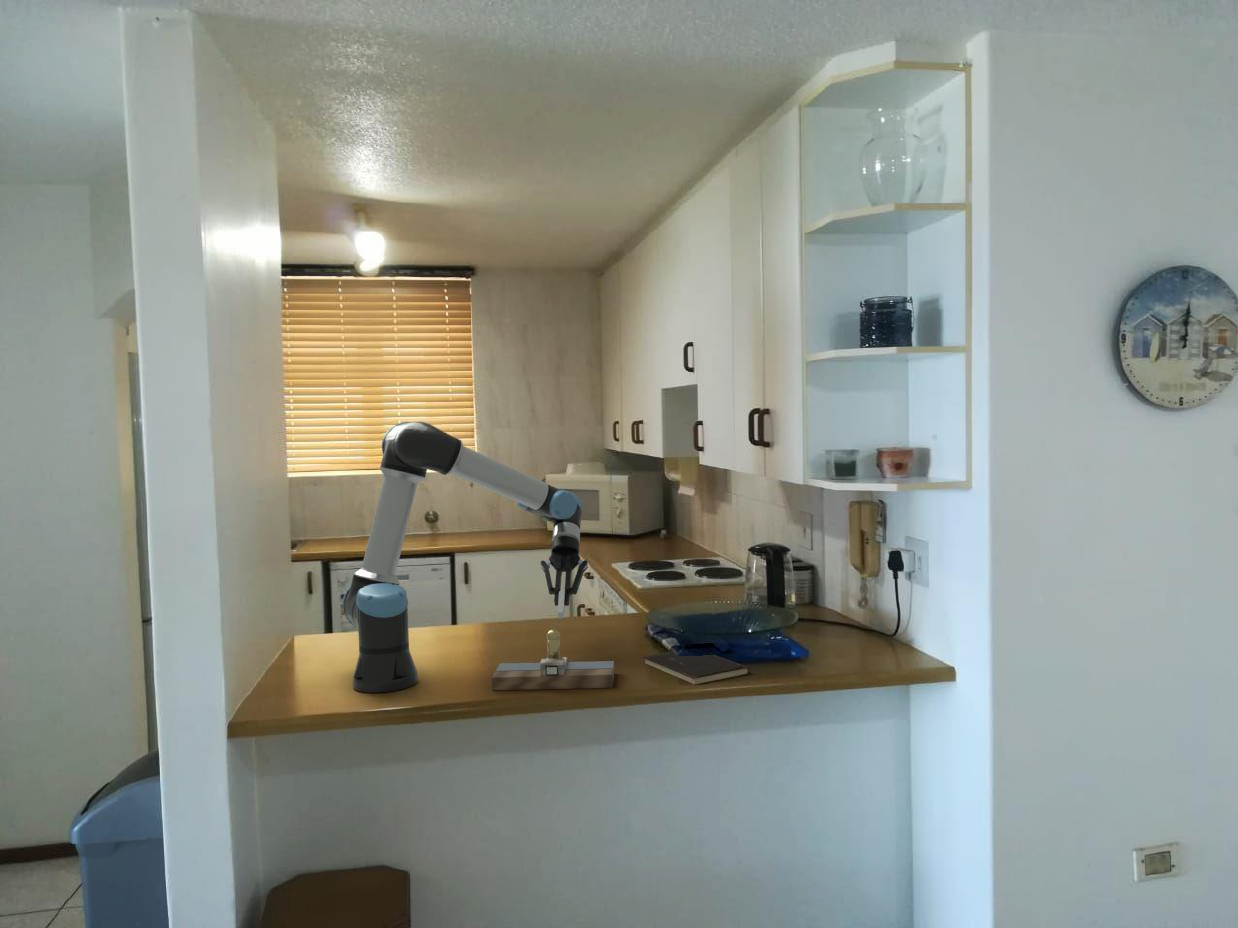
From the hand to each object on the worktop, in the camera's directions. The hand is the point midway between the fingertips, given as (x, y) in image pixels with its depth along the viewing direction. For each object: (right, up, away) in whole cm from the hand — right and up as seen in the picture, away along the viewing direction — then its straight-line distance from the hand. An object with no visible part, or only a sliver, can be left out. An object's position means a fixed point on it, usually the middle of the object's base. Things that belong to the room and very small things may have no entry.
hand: (560, 615), depth 227 cm
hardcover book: (+34, -12, -8) cm, 37 cm away
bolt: (-1, -10, -18) cm, 21 cm away
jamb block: (0, -13, -20) cm, 24 cm away
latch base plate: (0, -13, -14) cm, 19 cm away
